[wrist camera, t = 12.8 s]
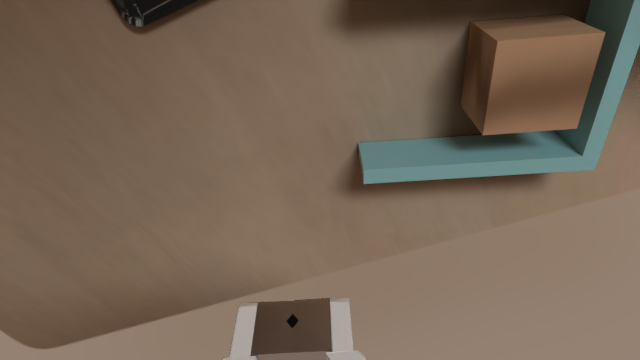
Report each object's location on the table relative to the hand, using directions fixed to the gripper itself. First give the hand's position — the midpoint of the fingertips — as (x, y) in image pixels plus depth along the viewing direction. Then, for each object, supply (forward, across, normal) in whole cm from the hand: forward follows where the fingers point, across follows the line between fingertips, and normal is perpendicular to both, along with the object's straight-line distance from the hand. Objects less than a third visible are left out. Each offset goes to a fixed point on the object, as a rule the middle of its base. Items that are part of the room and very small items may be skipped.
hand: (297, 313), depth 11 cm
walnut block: (+21, -14, +1) cm, 25 cm away
